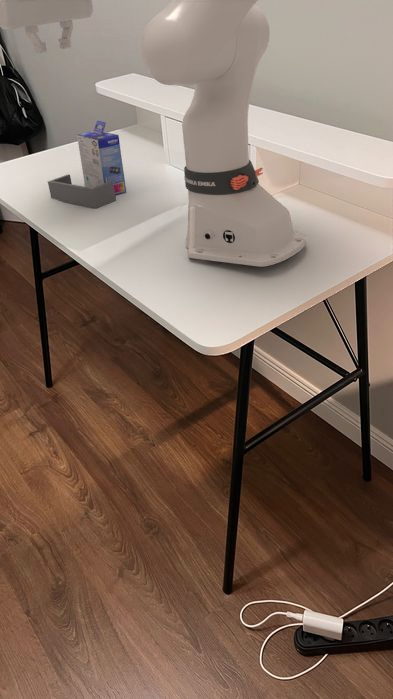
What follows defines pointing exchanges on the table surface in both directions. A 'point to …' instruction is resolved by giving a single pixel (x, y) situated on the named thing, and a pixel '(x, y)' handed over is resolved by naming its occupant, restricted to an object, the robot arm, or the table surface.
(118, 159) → the ink cartridge box
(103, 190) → the bay
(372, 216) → the table surface
